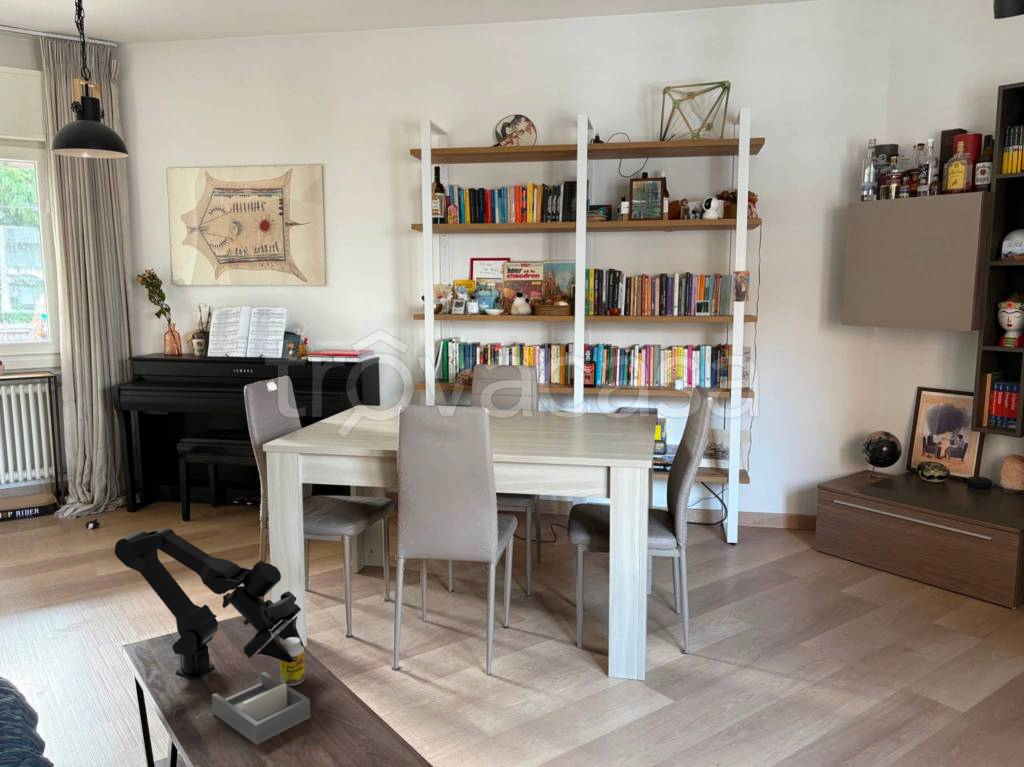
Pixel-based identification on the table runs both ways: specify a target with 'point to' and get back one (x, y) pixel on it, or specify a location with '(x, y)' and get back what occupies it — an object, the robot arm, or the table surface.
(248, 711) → the pusher plate
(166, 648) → the table surface
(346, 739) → the table surface
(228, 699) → the pusher lane
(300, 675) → the supplement bottle
